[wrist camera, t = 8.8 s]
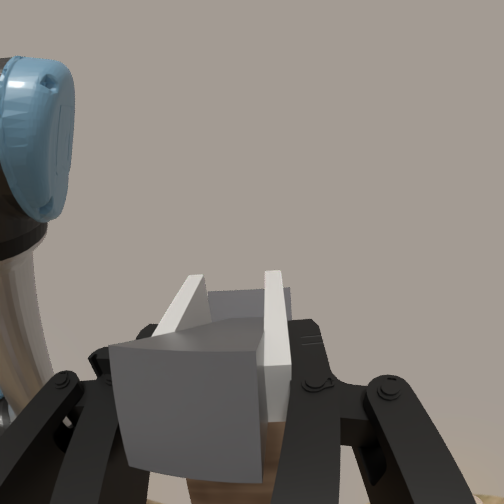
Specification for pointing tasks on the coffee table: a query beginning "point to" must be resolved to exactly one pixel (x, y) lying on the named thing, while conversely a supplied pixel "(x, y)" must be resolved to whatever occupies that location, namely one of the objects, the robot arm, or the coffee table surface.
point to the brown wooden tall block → (243, 494)
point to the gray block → (198, 394)
